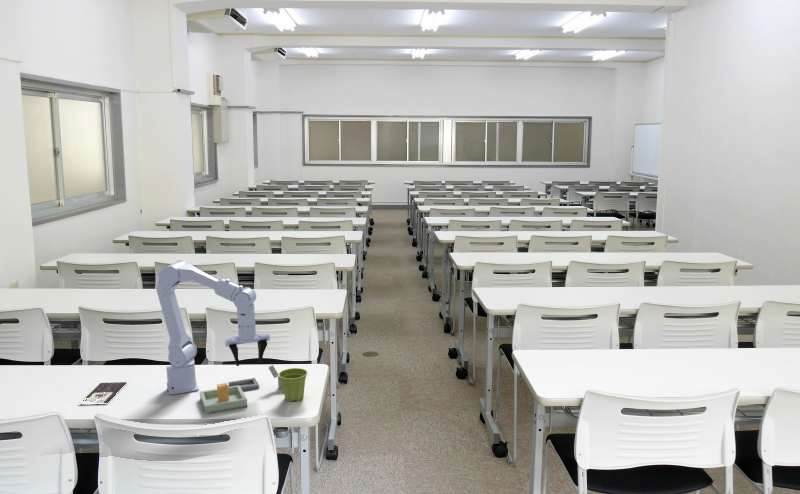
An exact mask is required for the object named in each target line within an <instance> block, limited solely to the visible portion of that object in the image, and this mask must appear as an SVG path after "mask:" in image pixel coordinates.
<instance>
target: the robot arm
mask: <svg viewBox="0 0 800 494" xmlns="http://www.w3.org/2000/svg"><path fill="white" fill-rule="evenodd" d="M157 277H158V279H157V284H156V294H157V296H158V301H159V304H160V308H161V312H162V314H163V319H164V322H165V326H166V329H167V333H168V335H169V339H170V340H169V343H168V346H167V349H168V362H169V363H170V365H167V366H166V368H165V369H166V378H167V379H166V381H167V382H166V386H167V387H166V388H167V389H168V394H169V395H176V394H183V393H184V394H186V393H190V392H196V391H199V390H200V389H199V386H198V383H197V377H196V366H195V365H196V364H195V356H197V353H198V348H197V346H196V344H195V343H194V342H193V339H192V337H191V336H189V335H188V334H187V332H186V328H185V325H184V320H183V317H182V313H181V311H180V307H179V303H178V299H177V296H176V292H175V290H176V288H178V286H179V284H180V283H184V282H189V281H193V282H195V283H197V284H200V285H203V286H205V287H208V288H210V289H212V290H213V291H214V293H215V295H217V296H219V297H222V298H223V299H225V300H228V301H229V302H232V303H233V304H234V306H235V308H236V314H237V315H236V316H237V331H238V332H237V333H238V334H237V335H238V336H234V337H231V338H226V339H224V345H225V347H227V348H228V347H229V349H230V351H231V353H232V355H233V358H234V362H235V365H236V367H240V361H239V348H238V345H243V344H249V343H250V344H251V343H257V352H258V353H257V354H258V355H257V357H258V362H259V363H261V364H262V363H263V356H264V354H265V350H266V349H267V347H268V341H270V340H271V339H270V337H271V336H270V334H269V333H262V334H261V333H257V329H256V328H257V327H256V326H257V325H256V313H255V312H256V311H255V302H256V299H257V293H256V291H255V290H254V289H253V288H251V287H249V286H246V287H244V286H243V285H238V284H236V283H235V282H232V281H231V279H229V278H226V279H225V278H221V279H218V278H215V277H214V276H212V275H210V274H208V273H206V272H204V271H202V270H200V269H199V268H197V267H195V266H194V265H193V264H191V263H189V262H186V261H184V260H176V261H175V262H173V263H171V264H169V265H165V266H163V268H161V270H159V272H158V273H157Z"/></svg>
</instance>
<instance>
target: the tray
mask: <svg viewBox="0 0 800 494" xmlns="http://www.w3.org/2000/svg"><path fill="white" fill-rule="evenodd" d="M240 386H241V385H236V386H230V387H229V386H228V395H229V401H227V402H221V403H219V401H218V392H217V388H213V389H207V390H202V391H199V397H200V398H199V399H200V402H201V406H202V407H203V410H204V413H205V415H209V414H214V413H221V412H227V411H231V410H237V409H243V408H247V407H248V398H247V397H246V395H245V393H244V391H242V389H241V387H240Z"/></svg>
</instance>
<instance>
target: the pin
mask: <svg viewBox="0 0 800 494" xmlns="http://www.w3.org/2000/svg"><path fill="white" fill-rule="evenodd" d="M228 387H229V385H228V384H227V382H224V383H223V382H222V383H218V384H216V389H217V392H218V401H219V403H221V402H227V401H229V395H228Z"/></svg>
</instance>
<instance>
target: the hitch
mask: <svg viewBox="0 0 800 494" xmlns="http://www.w3.org/2000/svg"><path fill="white" fill-rule="evenodd" d="M227 382H228V384H227V385H228V387H231V386H237V385H240V387H241V389H242V391H243V392H244V391H249V390H257V389H260V384H259V382H258V381H257V379H256V378H255V377H253V378H246V379H241V380H240V379H238V380H233V381H227Z"/></svg>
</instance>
